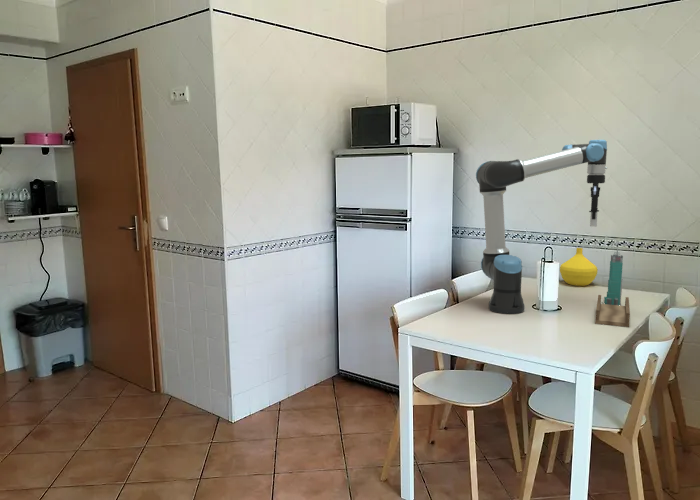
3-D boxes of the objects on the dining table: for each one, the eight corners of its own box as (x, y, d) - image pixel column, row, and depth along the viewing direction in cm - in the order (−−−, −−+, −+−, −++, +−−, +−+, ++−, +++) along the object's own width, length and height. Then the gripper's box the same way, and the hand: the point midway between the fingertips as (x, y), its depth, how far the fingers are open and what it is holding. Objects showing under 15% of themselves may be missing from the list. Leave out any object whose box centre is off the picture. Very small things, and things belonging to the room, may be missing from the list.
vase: (563, 287, 281) (564, 250, 278) (556, 280, 299) (557, 245, 296) (601, 288, 278) (603, 251, 275) (591, 280, 296) (593, 245, 293)
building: (621, 307, 242) (626, 239, 238) (607, 306, 244) (611, 239, 239) (618, 303, 248) (622, 238, 244) (603, 303, 249) (607, 237, 245)
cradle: (595, 323, 218) (596, 310, 217) (597, 306, 243) (598, 294, 242) (628, 327, 213) (629, 313, 212) (627, 309, 238) (628, 297, 237)
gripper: (604, 174, 240) (601, 228, 244) (605, 174, 253) (602, 224, 257) (586, 174, 244) (583, 227, 247) (588, 174, 256) (585, 224, 260)
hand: (593, 226), depth 252 cm, fingers closed
